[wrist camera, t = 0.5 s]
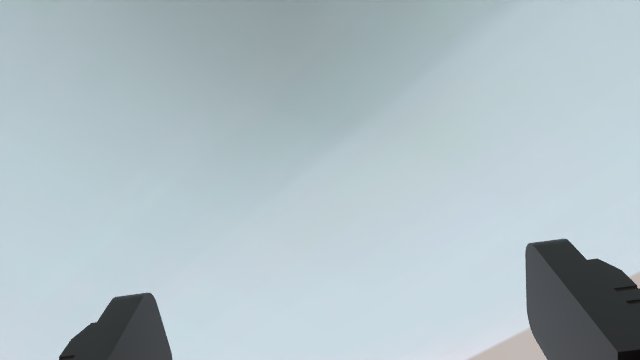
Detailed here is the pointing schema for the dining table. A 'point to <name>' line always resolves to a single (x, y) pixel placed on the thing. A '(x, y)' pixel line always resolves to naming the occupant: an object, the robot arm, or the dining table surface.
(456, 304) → the dining table surface
